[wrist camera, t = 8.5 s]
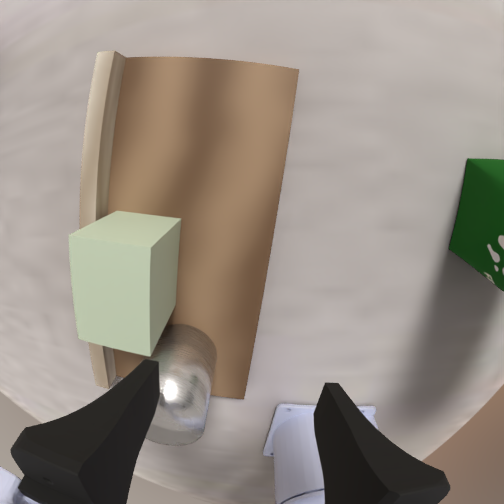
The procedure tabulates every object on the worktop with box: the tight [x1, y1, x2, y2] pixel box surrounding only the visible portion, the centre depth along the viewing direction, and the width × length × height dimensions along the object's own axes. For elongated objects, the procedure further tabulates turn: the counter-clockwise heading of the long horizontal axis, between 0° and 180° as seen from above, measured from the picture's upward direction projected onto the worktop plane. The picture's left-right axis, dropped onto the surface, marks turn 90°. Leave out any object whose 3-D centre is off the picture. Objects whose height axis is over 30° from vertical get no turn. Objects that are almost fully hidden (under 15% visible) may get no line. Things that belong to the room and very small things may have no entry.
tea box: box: [69, 211, 181, 357], centre depth 17 cm, size 4×6×6 cm
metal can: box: [140, 324, 217, 446], centre depth 19 cm, size 5×5×7 cm
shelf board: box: [80, 51, 299, 399], centre depth 20 cm, size 12×24×3 cm, turn 172°
